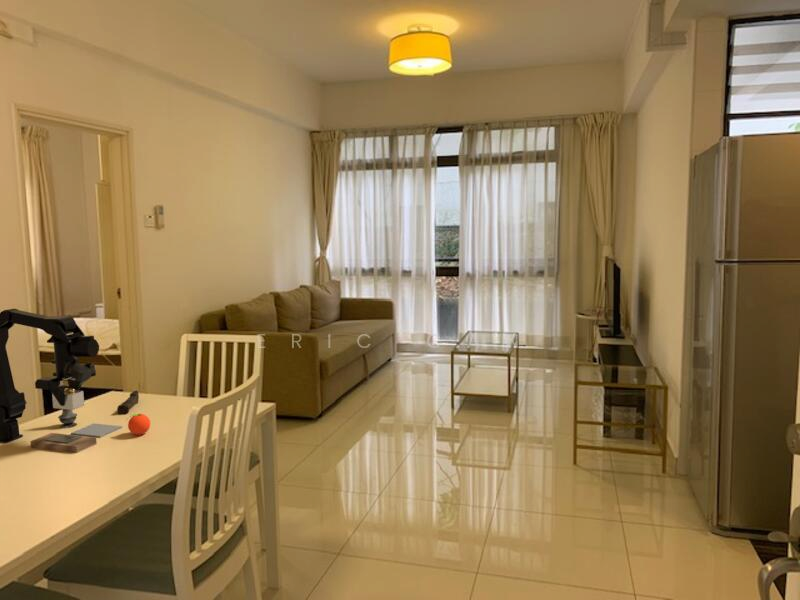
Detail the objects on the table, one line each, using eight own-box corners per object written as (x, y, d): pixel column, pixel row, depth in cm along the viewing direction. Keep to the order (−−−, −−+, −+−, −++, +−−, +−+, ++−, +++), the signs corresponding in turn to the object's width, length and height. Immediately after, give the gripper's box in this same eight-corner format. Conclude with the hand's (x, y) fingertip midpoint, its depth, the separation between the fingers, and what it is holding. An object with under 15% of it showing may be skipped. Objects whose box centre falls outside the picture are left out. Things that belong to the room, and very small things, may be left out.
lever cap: (53, 407, 190) (51, 389, 189) (64, 403, 194) (63, 385, 194) (73, 410, 188) (71, 391, 187) (84, 405, 192) (82, 387, 191)
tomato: (121, 438, 196) (120, 417, 196) (130, 430, 203) (129, 410, 202) (146, 437, 197) (145, 417, 196) (154, 430, 204) (153, 410, 203)
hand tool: (128, 415, 221) (127, 403, 221) (117, 415, 221) (116, 403, 220) (145, 400, 240) (144, 389, 239) (134, 400, 239) (134, 389, 239)
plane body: (30, 447, 188) (30, 440, 188) (51, 438, 196) (51, 431, 196) (77, 452, 184) (76, 445, 183) (96, 443, 191) (96, 436, 191)
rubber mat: (71, 434, 200) (71, 432, 200) (93, 424, 210) (93, 423, 210) (100, 437, 197) (100, 436, 197) (122, 427, 206) (121, 426, 206)
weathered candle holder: (70, 428, 206) (67, 395, 204) (54, 428, 206) (52, 394, 205) (81, 423, 211) (79, 390, 210) (66, 422, 212) (64, 389, 211)
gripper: (60, 364, 178) (64, 414, 180) (107, 351, 196) (110, 397, 198) (31, 362, 181) (35, 411, 183) (80, 349, 199) (83, 394, 201)
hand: (68, 403), depth 191 cm, fingers closed on lever cap, 4 cm apart
